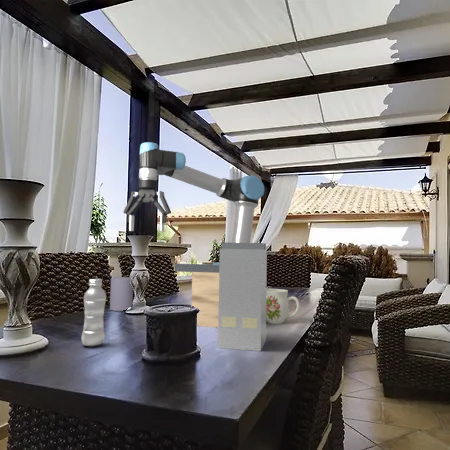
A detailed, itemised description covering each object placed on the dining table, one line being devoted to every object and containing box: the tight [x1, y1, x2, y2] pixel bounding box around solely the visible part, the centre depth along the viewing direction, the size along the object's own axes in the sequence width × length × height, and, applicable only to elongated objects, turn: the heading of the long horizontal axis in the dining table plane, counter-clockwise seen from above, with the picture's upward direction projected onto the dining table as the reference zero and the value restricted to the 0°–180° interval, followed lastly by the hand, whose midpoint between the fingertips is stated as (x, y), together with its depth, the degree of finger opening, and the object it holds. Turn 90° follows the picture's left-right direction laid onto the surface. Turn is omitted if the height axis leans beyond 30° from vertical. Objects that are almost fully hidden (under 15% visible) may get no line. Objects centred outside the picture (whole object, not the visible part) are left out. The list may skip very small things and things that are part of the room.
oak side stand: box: [191, 272, 219, 328], centre depth 150 cm, size 9×18×20 cm, turn 77°
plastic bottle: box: [81, 278, 107, 347], centre depth 115 cm, size 6×7×20 cm
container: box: [109, 276, 134, 312], centre depth 180 cm, size 10×10×15 cm
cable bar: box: [174, 263, 220, 273], centre depth 151 cm, size 4×24×3 cm, turn 77°
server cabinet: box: [217, 242, 268, 352], centre depth 120 cm, size 13×13×32 cm
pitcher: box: [266, 287, 300, 325], centre depth 156 cm, size 11×18×14 cm, turn 69°
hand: (146, 231), depth 156 cm, fingers open, 13 cm apart
